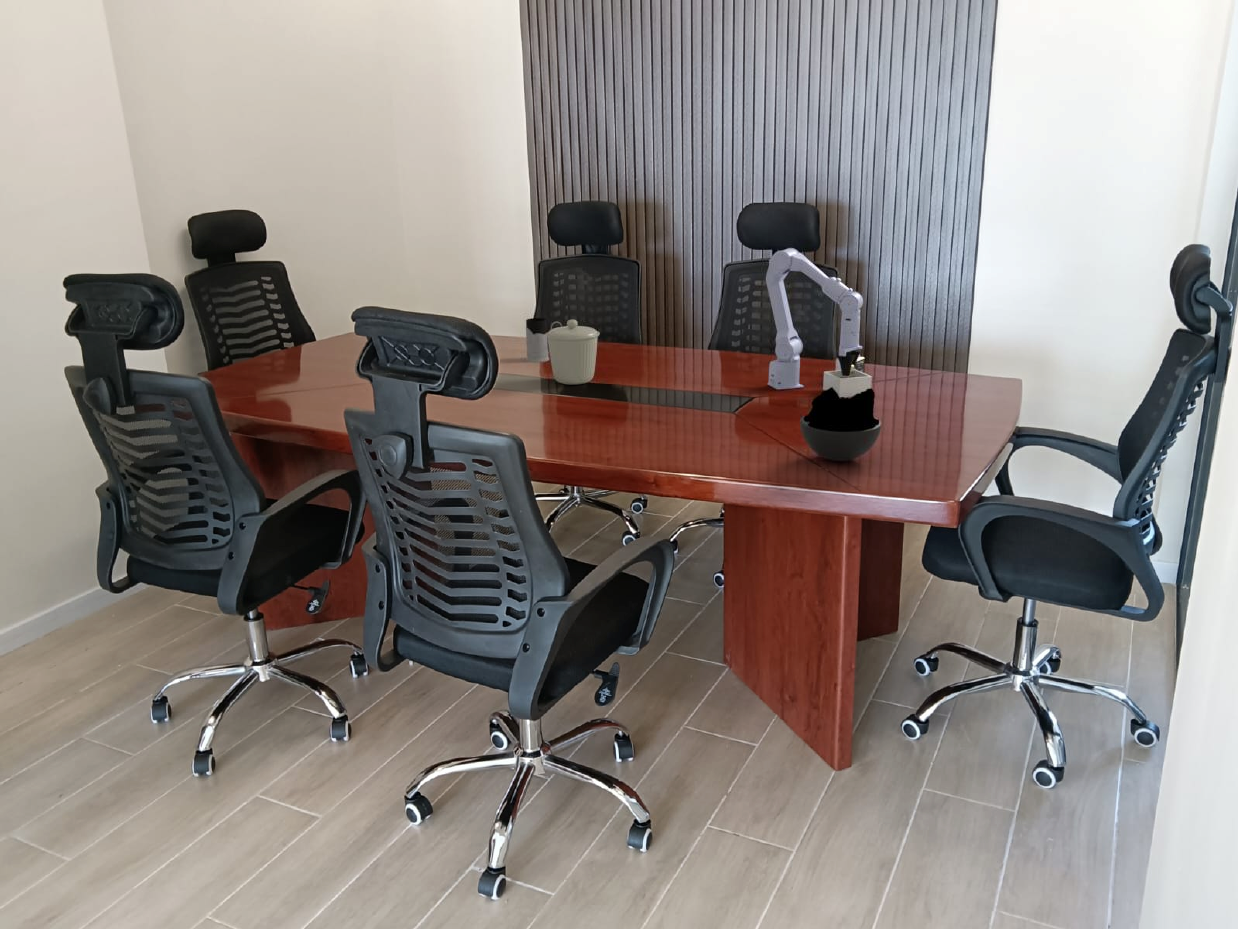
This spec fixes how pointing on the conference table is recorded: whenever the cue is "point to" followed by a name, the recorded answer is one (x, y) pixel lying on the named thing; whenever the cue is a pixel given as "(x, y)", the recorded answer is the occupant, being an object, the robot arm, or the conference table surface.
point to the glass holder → (537, 340)
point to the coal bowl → (841, 425)
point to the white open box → (847, 383)
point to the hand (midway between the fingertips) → (847, 374)
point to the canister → (573, 353)
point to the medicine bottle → (858, 366)
